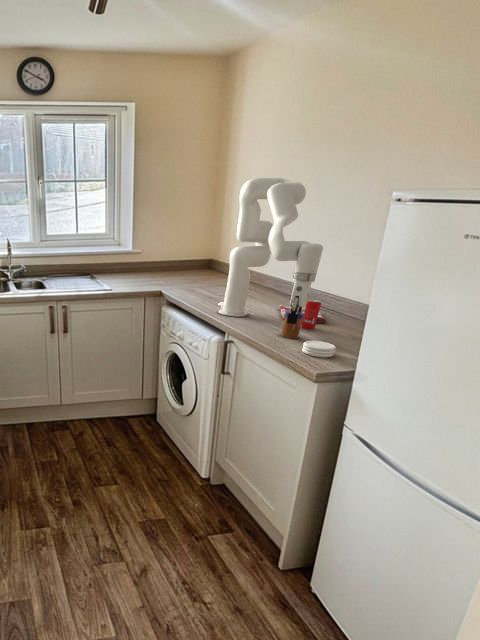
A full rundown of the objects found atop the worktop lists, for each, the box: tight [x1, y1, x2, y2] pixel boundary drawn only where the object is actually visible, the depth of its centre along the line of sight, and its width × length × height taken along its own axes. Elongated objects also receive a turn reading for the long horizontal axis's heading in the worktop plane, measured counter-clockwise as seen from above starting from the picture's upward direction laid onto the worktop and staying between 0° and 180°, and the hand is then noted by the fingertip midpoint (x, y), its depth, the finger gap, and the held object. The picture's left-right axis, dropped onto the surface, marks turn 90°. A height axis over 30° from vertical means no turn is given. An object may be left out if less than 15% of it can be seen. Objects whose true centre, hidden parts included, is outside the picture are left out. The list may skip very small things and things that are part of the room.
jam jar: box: [280, 317, 302, 340], centre depth 183 cm, size 6×6×10 cm
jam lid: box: [285, 310, 304, 319], centre depth 181 cm, size 7×7×2 cm
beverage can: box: [301, 299, 322, 331], centre depth 194 cm, size 5×5×12 cm
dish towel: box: [278, 304, 327, 324], centre depth 214 cm, size 17×23×3 cm
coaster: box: [301, 340, 337, 359], centre depth 165 cm, size 10×10×4 cm
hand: (293, 321), depth 182 cm, fingers closed on jam lid, 6 cm apart
